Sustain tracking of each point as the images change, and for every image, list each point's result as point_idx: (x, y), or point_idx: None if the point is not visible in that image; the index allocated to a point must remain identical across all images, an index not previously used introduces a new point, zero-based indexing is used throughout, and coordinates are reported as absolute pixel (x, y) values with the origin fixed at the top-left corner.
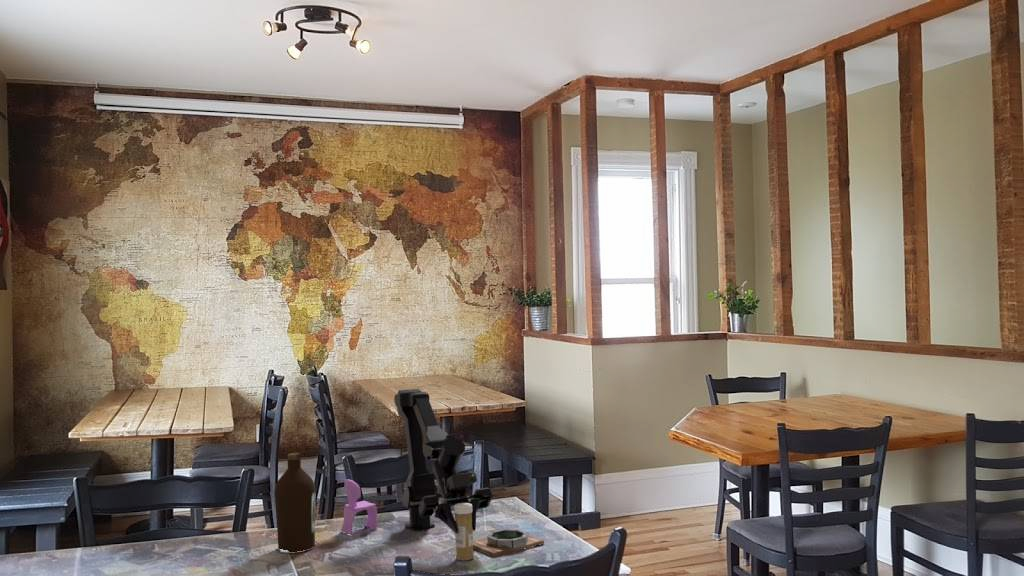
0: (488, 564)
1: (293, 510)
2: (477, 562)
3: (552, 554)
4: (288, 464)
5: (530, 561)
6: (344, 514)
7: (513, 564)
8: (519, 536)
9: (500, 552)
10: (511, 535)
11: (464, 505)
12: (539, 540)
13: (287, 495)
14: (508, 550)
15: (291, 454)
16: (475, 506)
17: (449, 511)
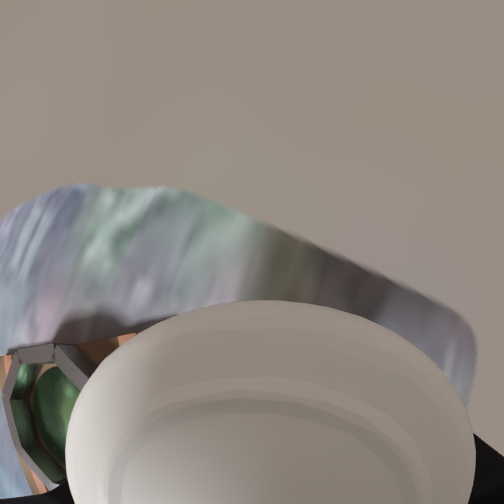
0: (221, 246)
1: None
2: (255, 293)
3: (23, 255)
4: None
5: (88, 217)
6: None
7: (142, 208)
8: (28, 425)
9: (127, 334)
10: (46, 457)
11: (250, 451)
12: (2, 366)
13: None
14: (94, 342)
15: None
16: (55, 500)
17: (474, 492)
